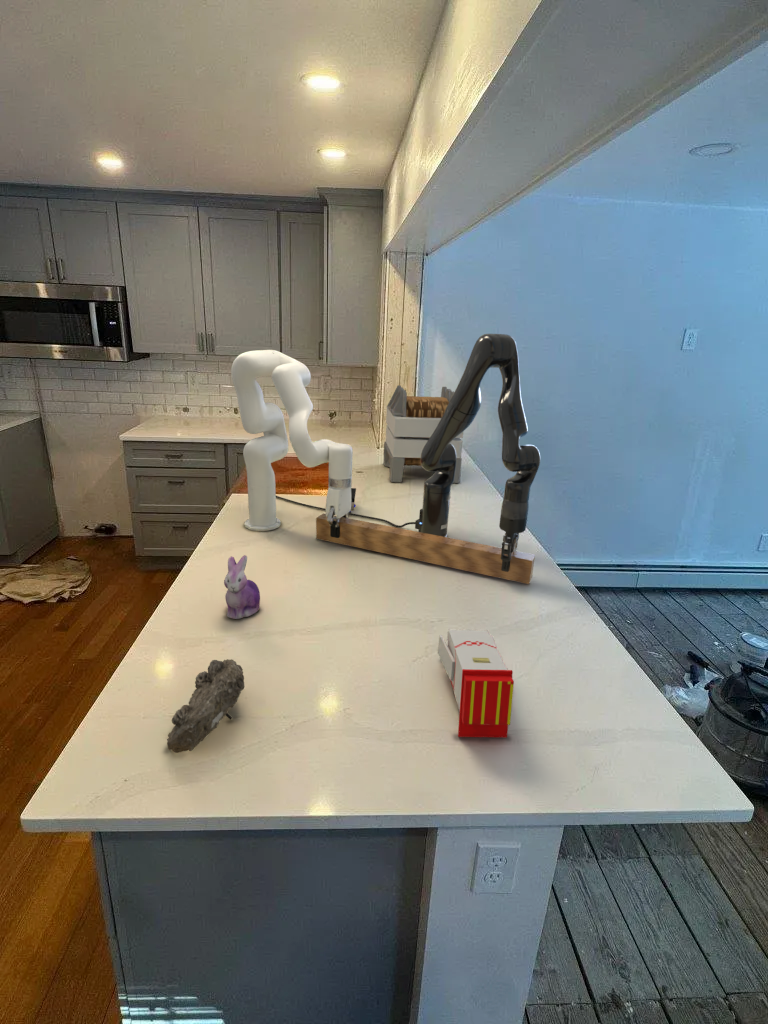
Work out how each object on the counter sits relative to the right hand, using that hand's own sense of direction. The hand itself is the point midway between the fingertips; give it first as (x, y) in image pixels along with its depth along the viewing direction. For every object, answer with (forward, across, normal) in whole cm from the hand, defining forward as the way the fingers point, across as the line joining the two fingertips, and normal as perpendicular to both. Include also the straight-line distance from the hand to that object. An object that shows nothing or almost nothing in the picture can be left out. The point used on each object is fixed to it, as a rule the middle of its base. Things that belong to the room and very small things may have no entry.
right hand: (507, 567), depth 168 cm
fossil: (+4, +87, -38) cm, 95 cm away
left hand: (+1, 0, -56) cm, 56 cm away
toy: (+4, +57, +4) cm, 57 cm away
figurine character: (+4, -30, -68) cm, 75 cm away
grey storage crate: (+4, -95, -62) cm, 114 cm away
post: (+3, 0, -28) cm, 28 cm away
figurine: (+4, +52, -57) cm, 77 cm away
